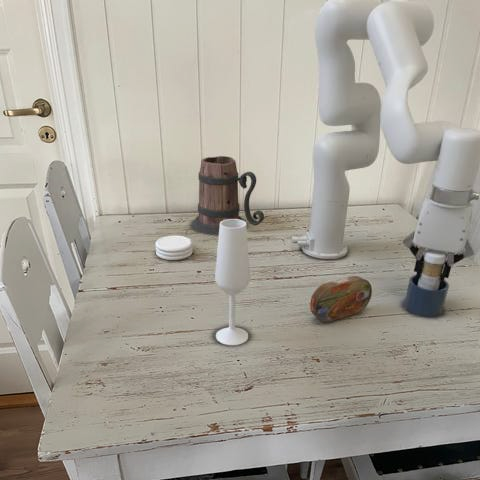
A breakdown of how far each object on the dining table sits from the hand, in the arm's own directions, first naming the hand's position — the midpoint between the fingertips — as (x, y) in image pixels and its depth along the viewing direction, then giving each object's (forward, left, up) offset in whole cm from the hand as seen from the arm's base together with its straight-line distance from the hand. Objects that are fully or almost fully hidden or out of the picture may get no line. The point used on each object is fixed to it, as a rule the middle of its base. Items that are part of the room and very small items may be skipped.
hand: (430, 276), depth 106 cm
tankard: (-41, +53, -8) cm, 67 cm away
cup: (0, 0, -8) cm, 8 cm away
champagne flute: (-44, -9, -8) cm, 46 cm away
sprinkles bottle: (0, 0, -8) cm, 8 cm away
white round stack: (-57, +33, -8) cm, 66 cm away
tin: (-20, -2, -8) cm, 22 cm away
